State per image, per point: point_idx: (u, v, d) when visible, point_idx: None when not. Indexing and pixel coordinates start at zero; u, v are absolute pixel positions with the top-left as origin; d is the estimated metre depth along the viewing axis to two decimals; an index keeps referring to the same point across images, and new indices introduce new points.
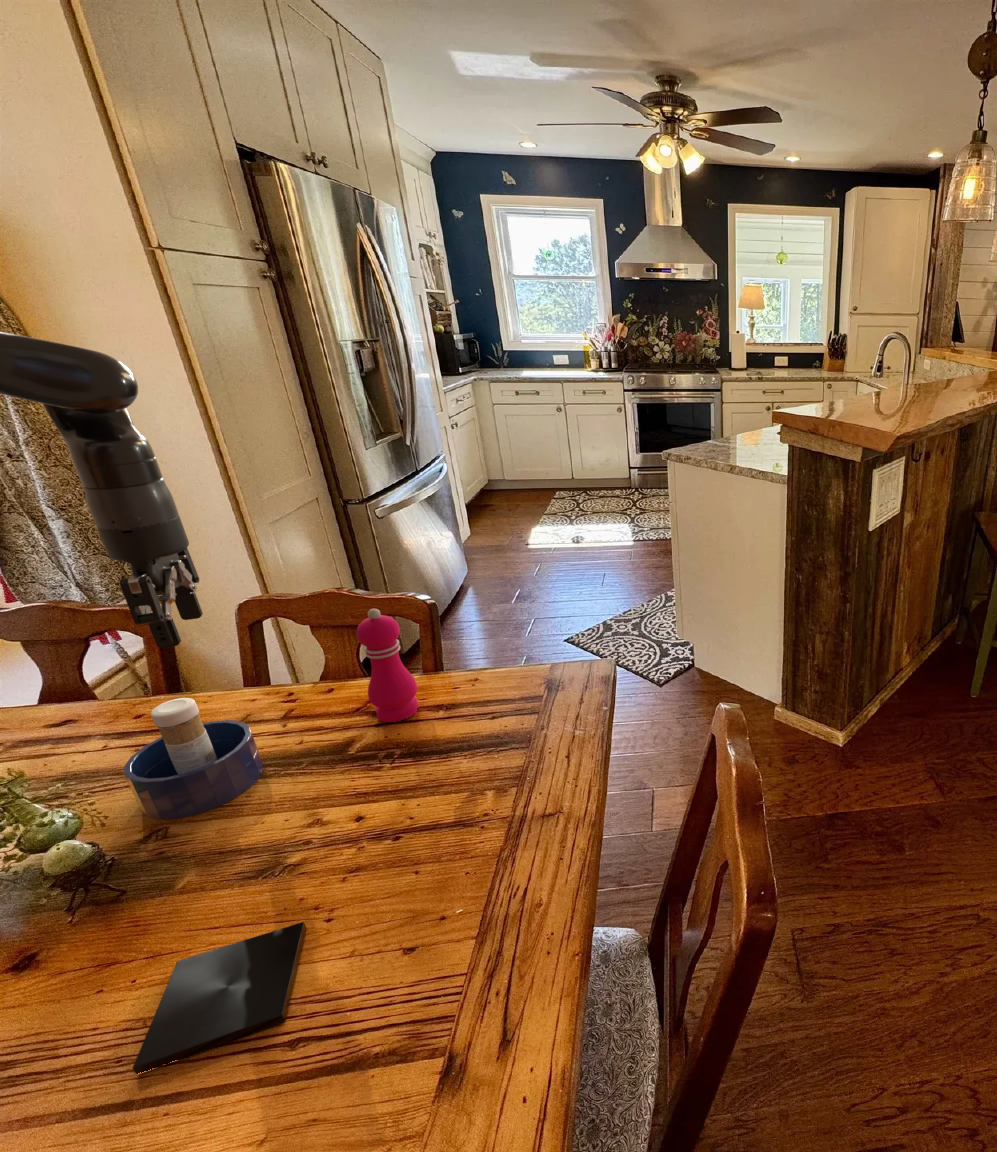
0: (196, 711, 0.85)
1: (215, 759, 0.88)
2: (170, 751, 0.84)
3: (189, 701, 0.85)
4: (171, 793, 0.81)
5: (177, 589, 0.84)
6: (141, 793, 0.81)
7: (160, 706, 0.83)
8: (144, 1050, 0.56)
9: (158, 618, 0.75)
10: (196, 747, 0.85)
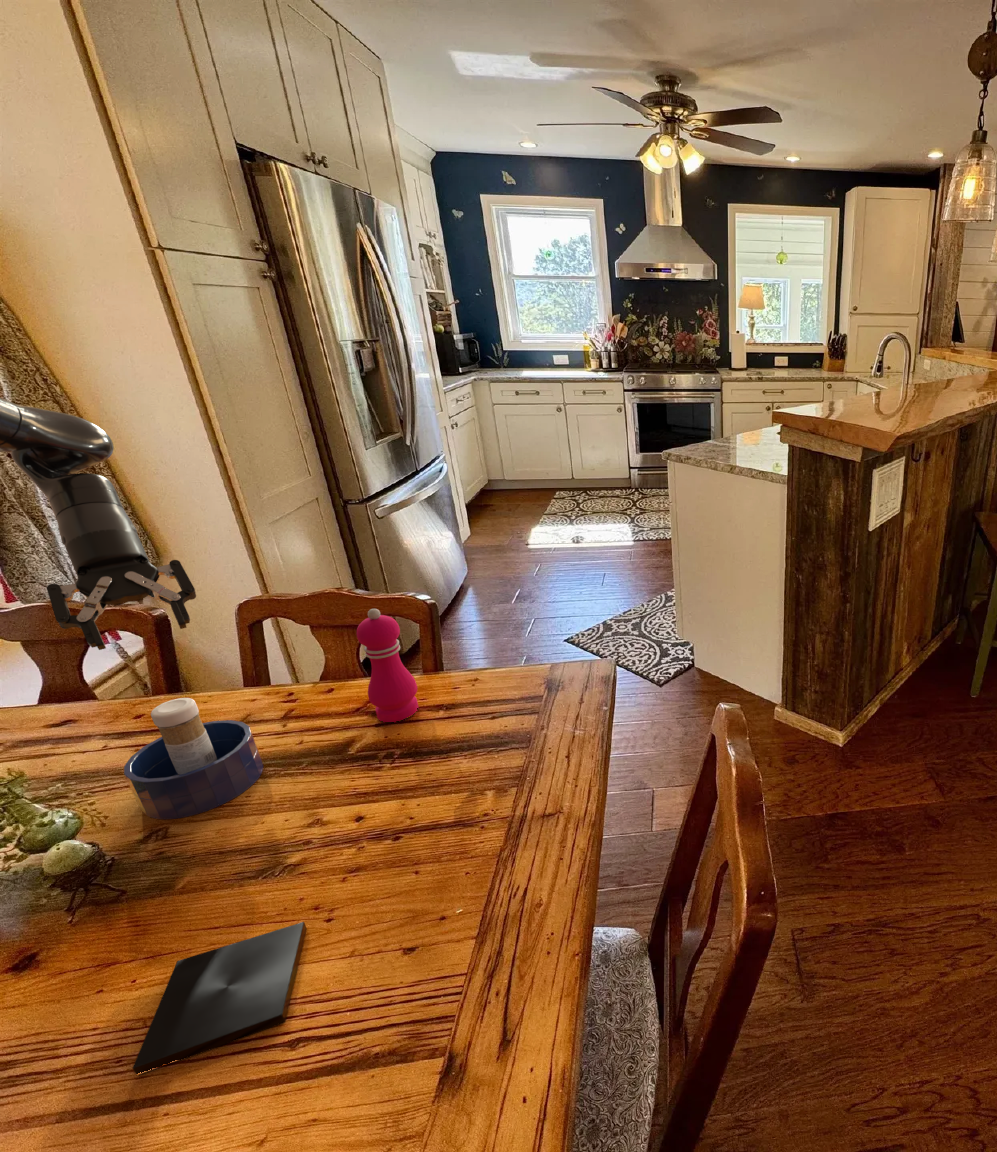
0: (196, 711, 0.85)
1: (215, 759, 0.88)
2: (170, 751, 0.84)
3: (189, 701, 0.85)
4: (171, 793, 0.81)
5: (171, 601, 0.91)
6: (141, 793, 0.81)
7: (160, 706, 0.83)
8: (144, 1050, 0.56)
9: None
10: (196, 747, 0.85)
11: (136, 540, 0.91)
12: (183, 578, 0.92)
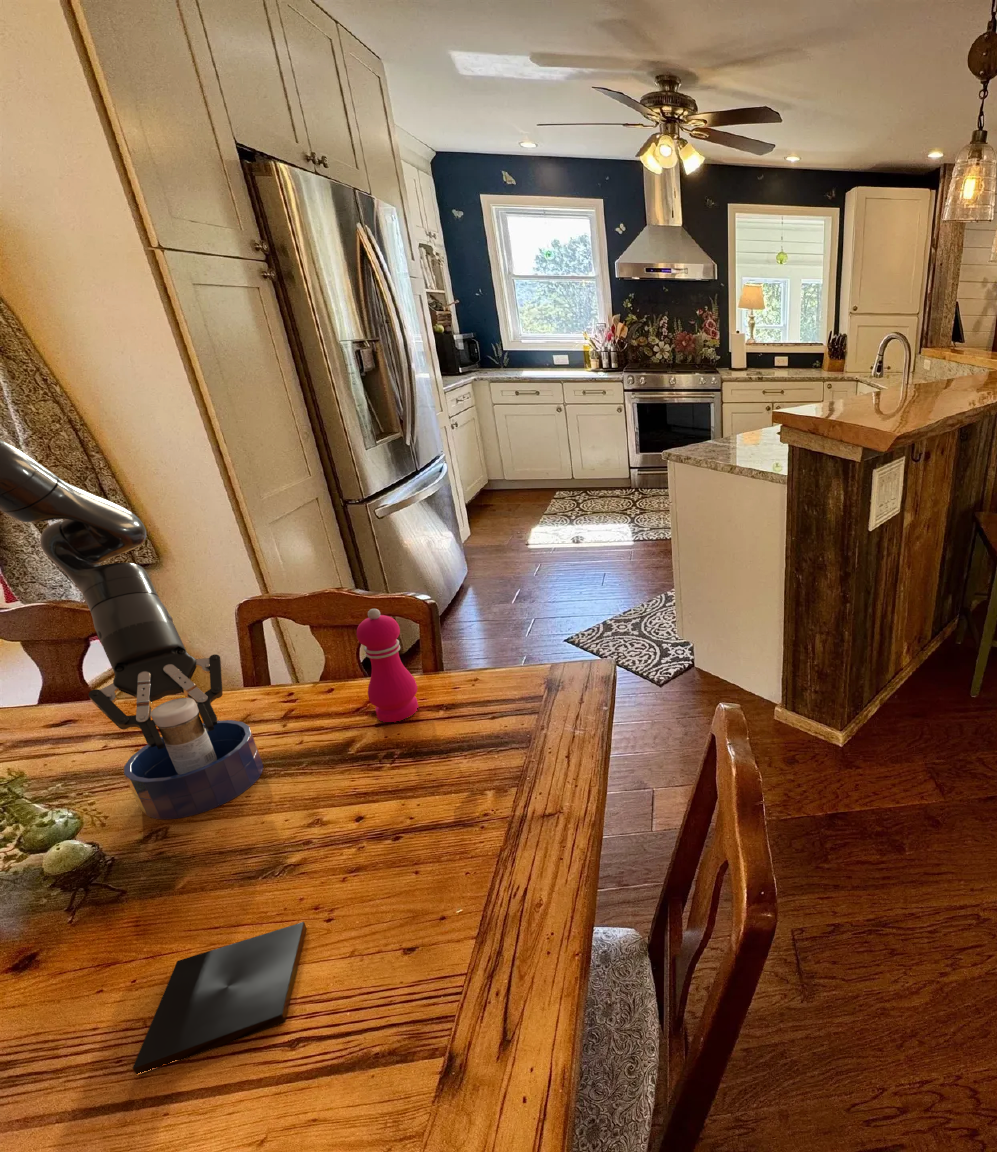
0: (196, 711, 0.85)
1: (215, 759, 0.88)
2: (170, 751, 0.84)
3: (190, 701, 0.85)
4: (171, 793, 0.81)
5: (197, 702, 0.87)
6: (141, 793, 0.81)
7: (160, 706, 0.83)
8: (144, 1050, 0.56)
9: (116, 722, 0.80)
10: (196, 746, 0.85)
11: (173, 630, 0.87)
12: (215, 675, 0.88)
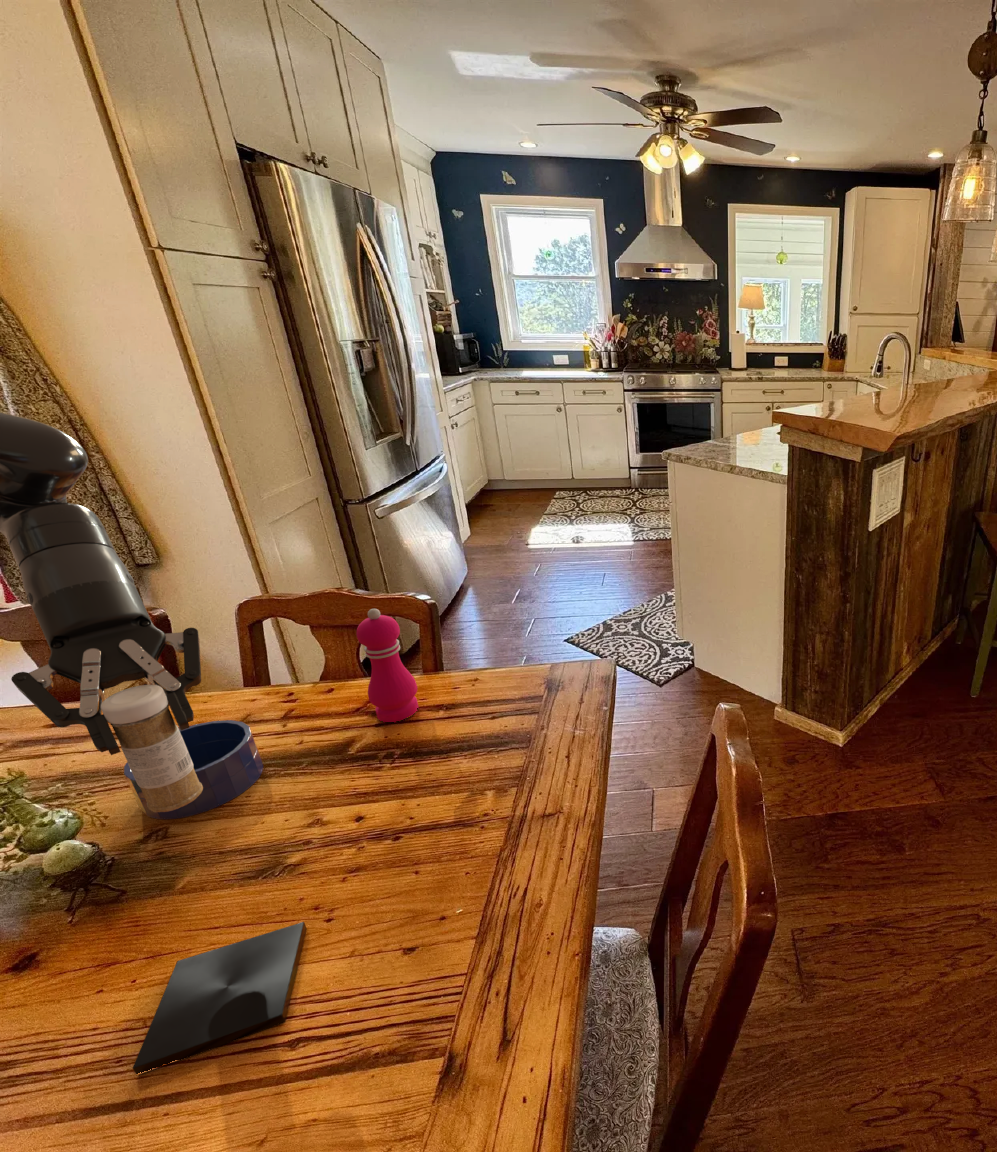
0: (165, 703, 0.63)
1: (191, 767, 0.66)
2: (128, 757, 0.62)
3: (155, 689, 0.62)
4: None
5: (166, 691, 0.65)
6: (141, 793, 0.81)
7: (115, 695, 0.61)
8: (144, 1050, 0.56)
9: (50, 717, 0.58)
10: (165, 751, 0.63)
11: (134, 594, 0.65)
12: (192, 655, 0.66)
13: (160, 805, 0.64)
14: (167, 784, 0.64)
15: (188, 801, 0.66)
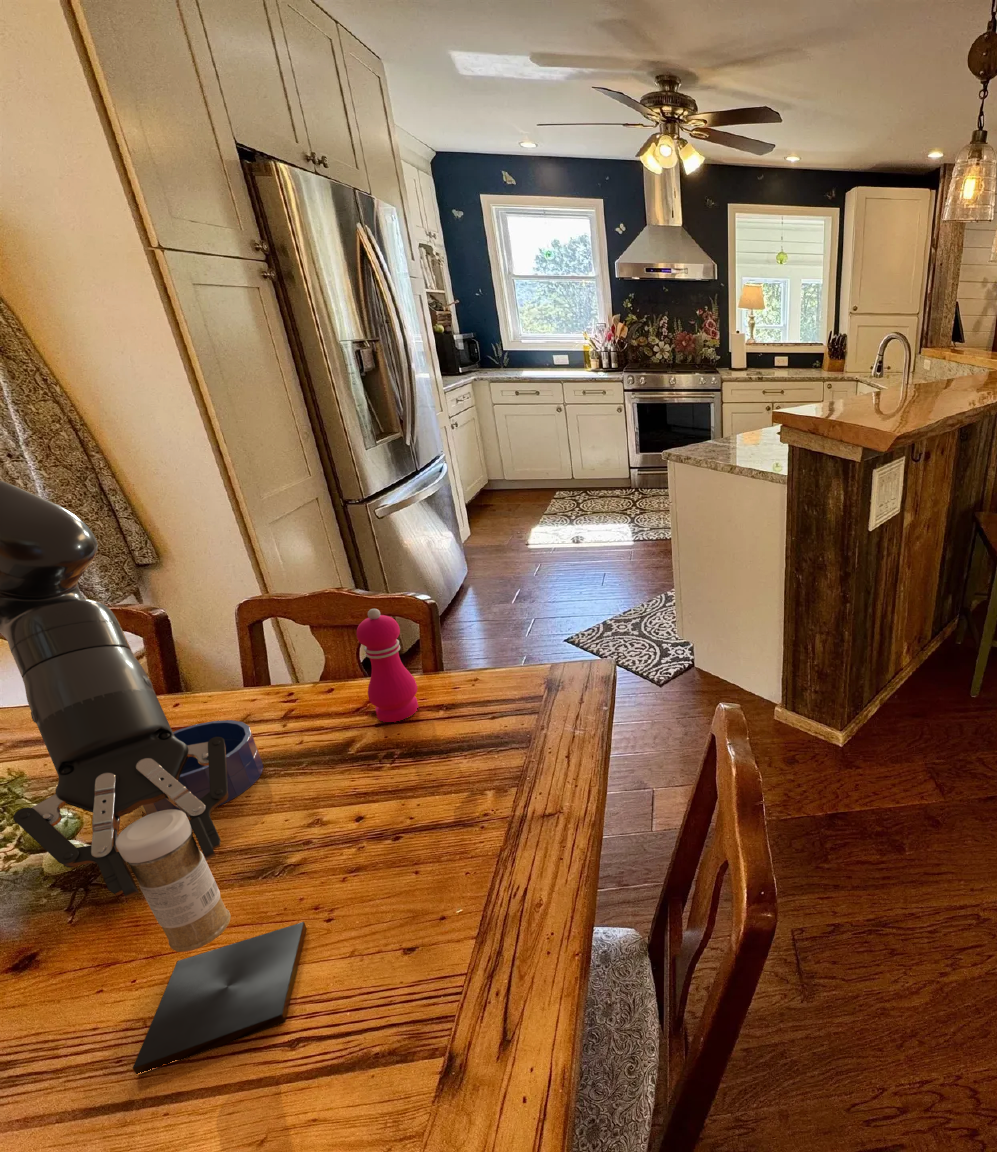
0: (188, 832, 0.55)
1: (218, 897, 0.58)
2: (147, 896, 0.54)
3: (178, 817, 0.54)
4: None
5: None
6: None
7: (131, 827, 0.53)
8: (144, 1050, 0.56)
9: (58, 861, 0.50)
10: (188, 886, 0.55)
11: (152, 702, 0.57)
12: (218, 771, 0.58)
13: (183, 944, 0.56)
14: (191, 922, 0.56)
15: (215, 936, 0.58)
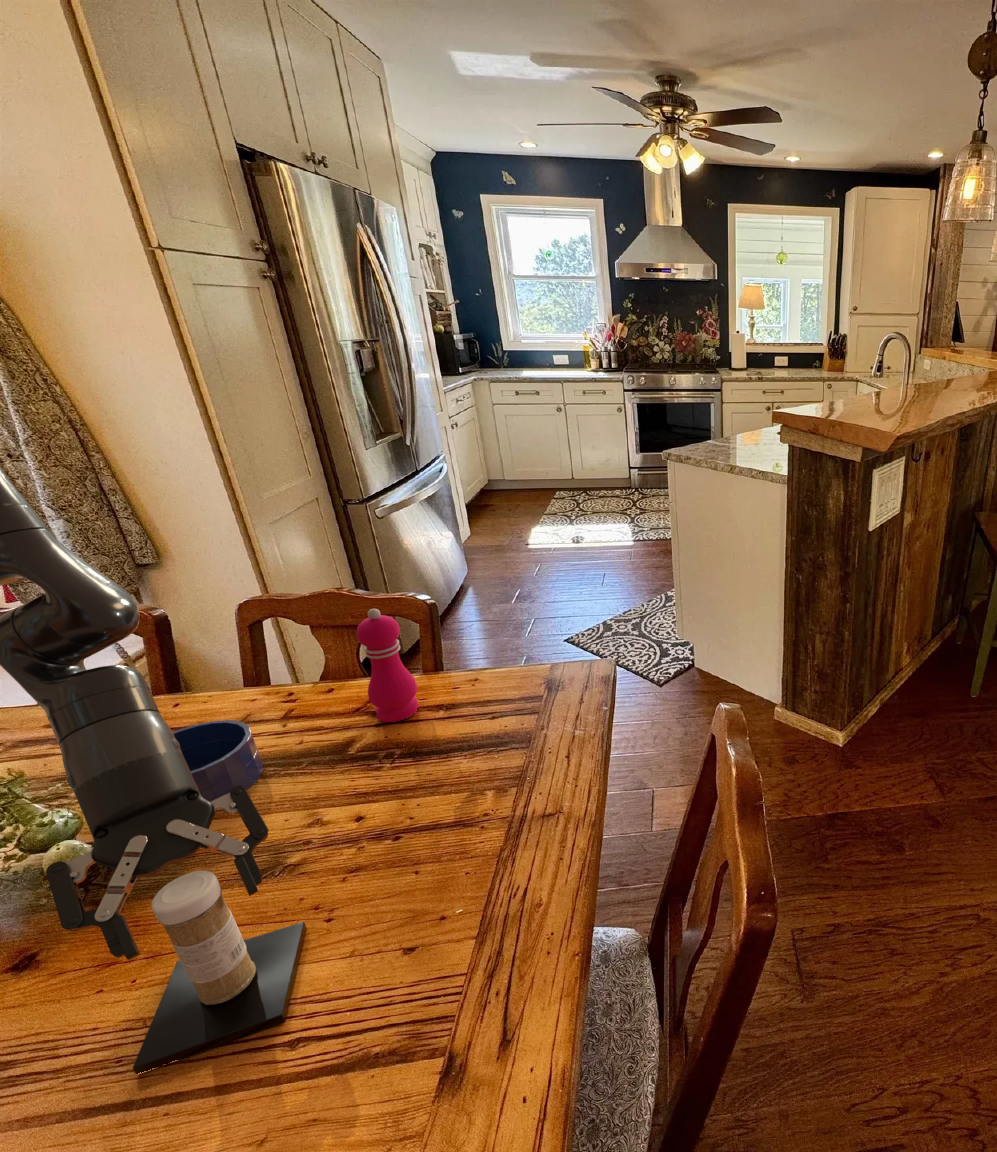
0: (218, 892, 0.58)
1: (244, 951, 0.61)
2: (179, 954, 0.57)
3: (208, 879, 0.58)
4: None
5: None
6: None
7: (165, 889, 0.56)
8: (144, 1050, 0.56)
9: None
10: (218, 943, 0.58)
11: (181, 764, 0.60)
12: (251, 814, 0.62)
13: (212, 998, 0.59)
14: (220, 977, 0.59)
15: (241, 989, 0.61)
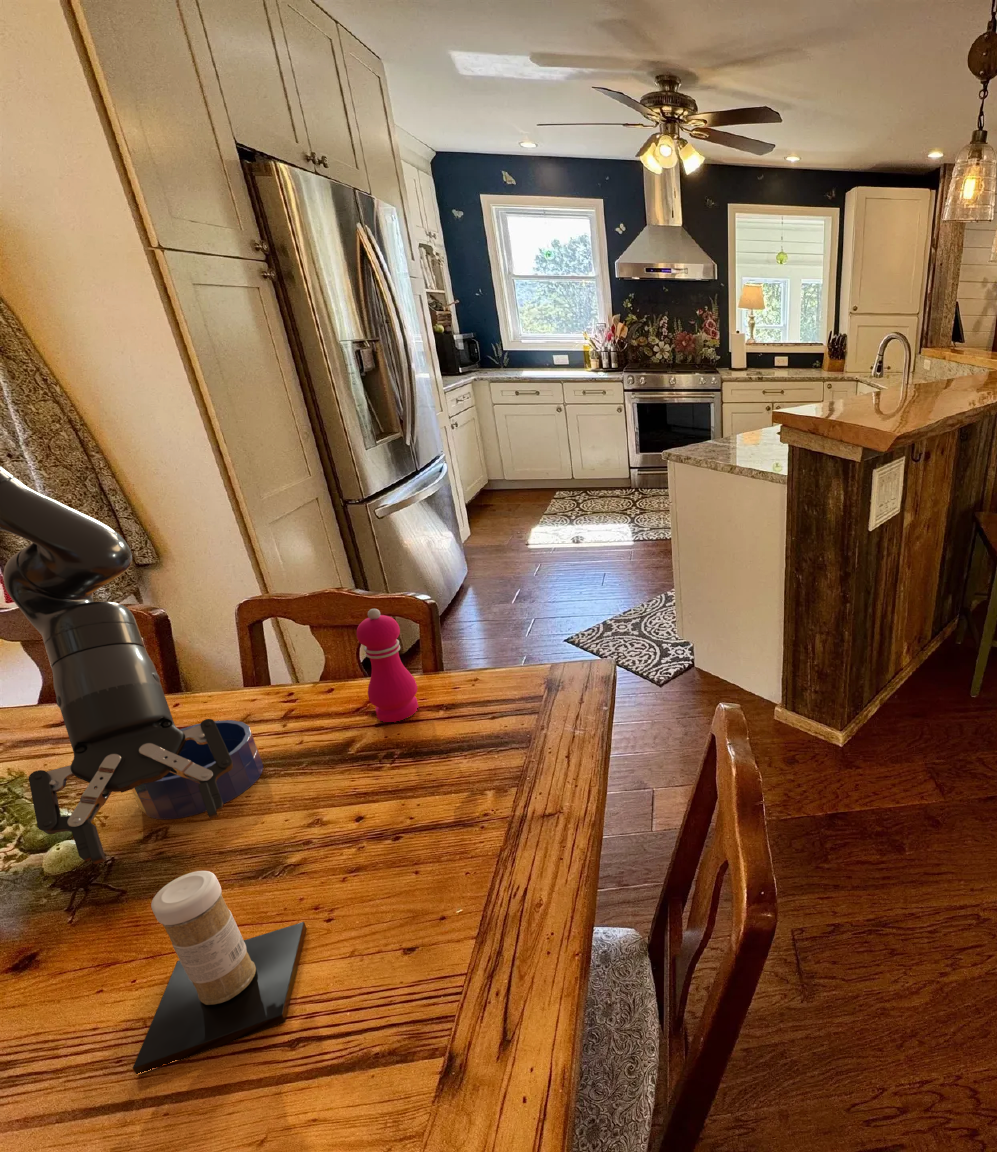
0: (218, 892, 0.58)
1: (244, 952, 0.61)
2: (179, 955, 0.57)
3: (208, 879, 0.58)
4: (171, 793, 0.81)
5: None
6: (141, 793, 0.81)
7: (165, 890, 0.56)
8: (144, 1050, 0.56)
9: None
10: (218, 943, 0.58)
11: (158, 695, 0.66)
12: (218, 746, 0.67)
13: (212, 998, 0.59)
14: (220, 977, 0.59)
15: (241, 989, 0.61)
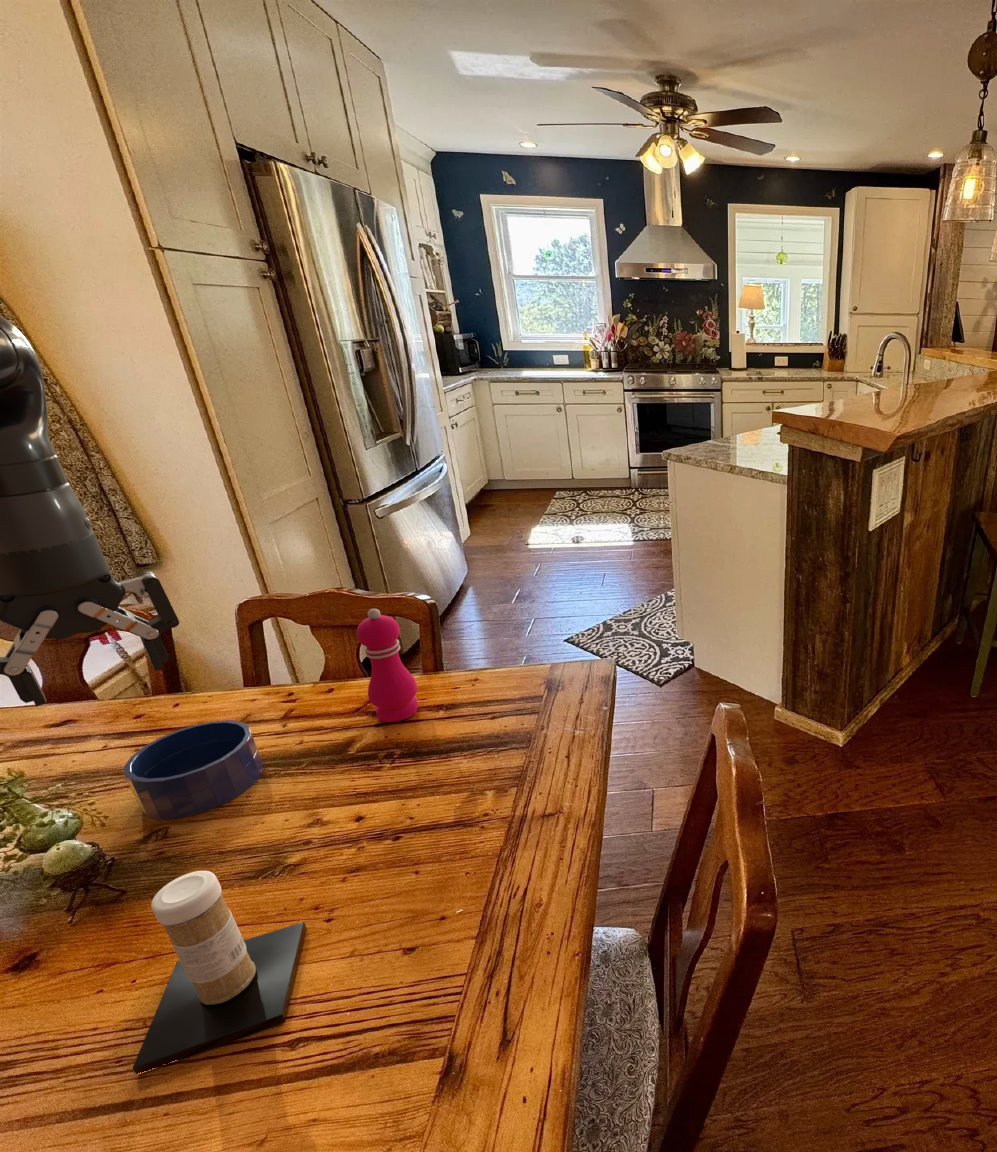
0: (218, 893, 0.58)
1: (244, 952, 0.61)
2: (179, 955, 0.57)
3: (208, 879, 0.58)
4: (171, 793, 0.81)
5: None
6: (141, 793, 0.81)
7: (165, 890, 0.56)
8: (144, 1050, 0.56)
9: None
10: (218, 943, 0.58)
11: (94, 549, 0.59)
12: (163, 606, 0.64)
13: (212, 998, 0.59)
14: (220, 977, 0.59)
15: (241, 989, 0.61)
